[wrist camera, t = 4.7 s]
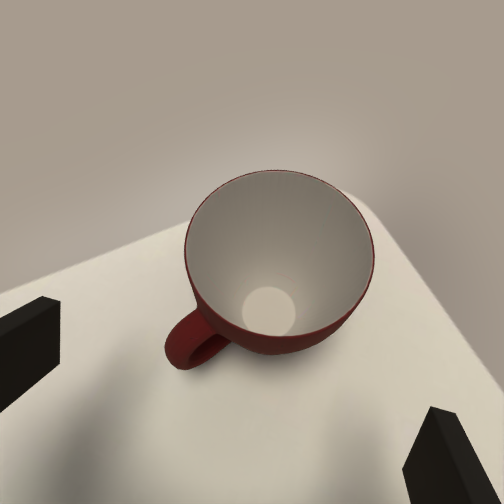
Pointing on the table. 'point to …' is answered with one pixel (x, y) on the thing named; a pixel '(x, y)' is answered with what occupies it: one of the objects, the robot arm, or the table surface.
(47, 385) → the table surface
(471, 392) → the table surface
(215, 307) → the mug
